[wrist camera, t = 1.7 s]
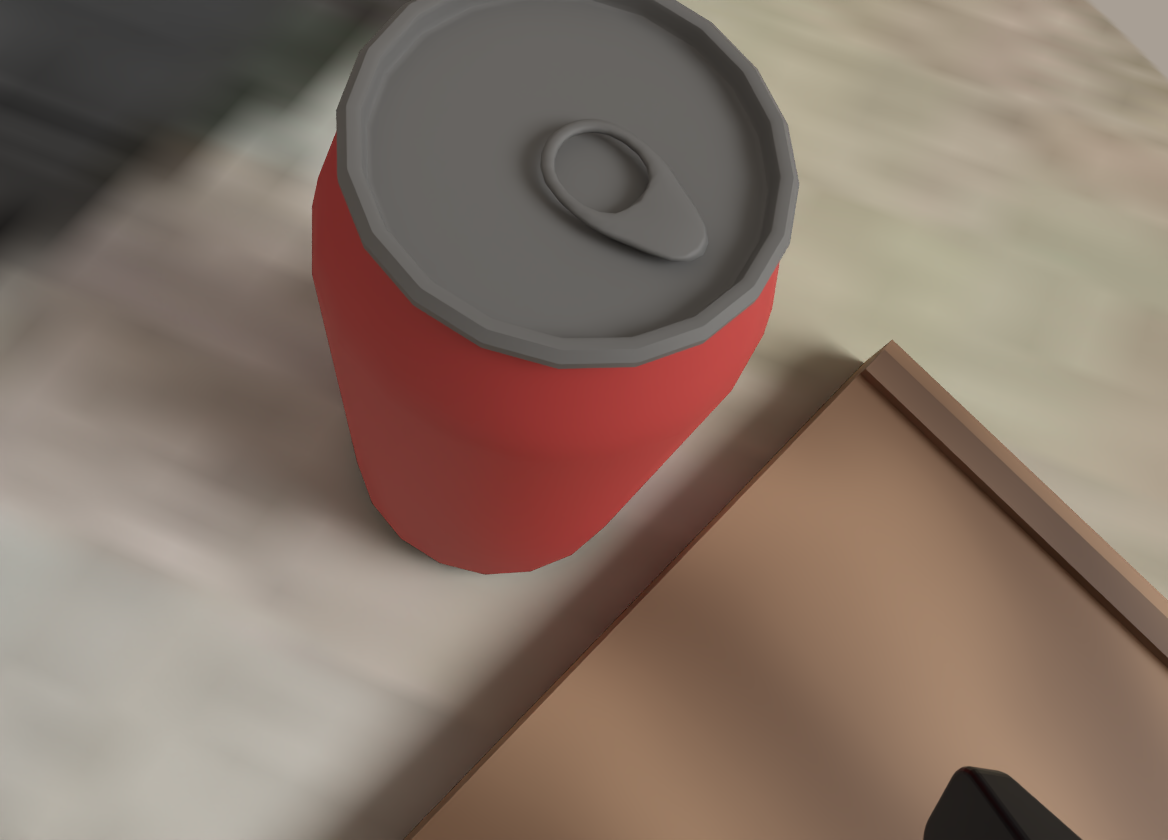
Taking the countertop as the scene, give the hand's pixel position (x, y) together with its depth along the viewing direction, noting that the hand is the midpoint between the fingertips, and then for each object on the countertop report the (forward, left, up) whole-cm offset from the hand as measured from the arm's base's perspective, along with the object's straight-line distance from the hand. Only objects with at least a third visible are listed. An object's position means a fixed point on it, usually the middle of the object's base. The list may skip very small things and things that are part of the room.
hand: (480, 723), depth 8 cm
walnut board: (+4, -7, -12) cm, 15 cm away
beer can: (+5, +4, -12) cm, 14 cm away
